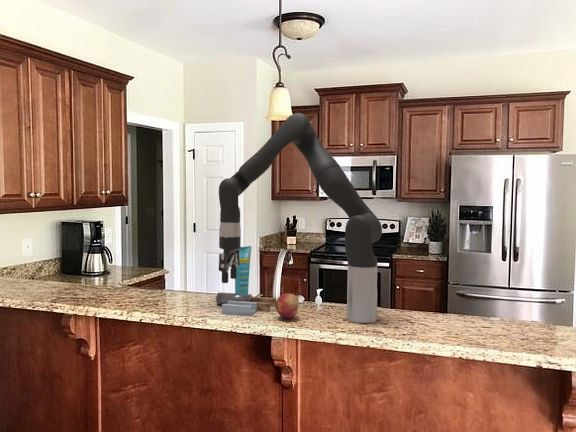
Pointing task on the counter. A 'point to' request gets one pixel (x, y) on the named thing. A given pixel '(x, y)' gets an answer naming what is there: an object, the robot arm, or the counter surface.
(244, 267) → the tube
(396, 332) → the counter surface
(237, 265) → the robot arm
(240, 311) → the v block
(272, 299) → the brown flat wooden block
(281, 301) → the fruit
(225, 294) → the grey cylinder
